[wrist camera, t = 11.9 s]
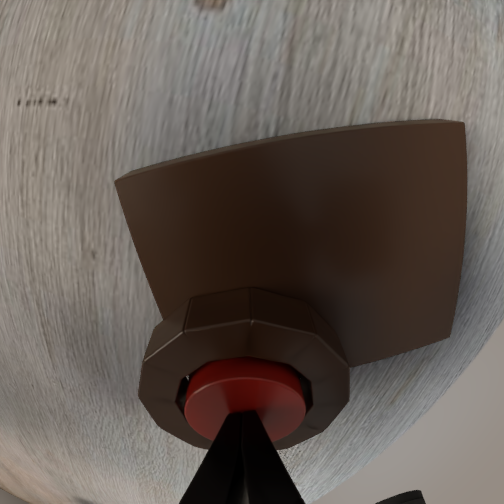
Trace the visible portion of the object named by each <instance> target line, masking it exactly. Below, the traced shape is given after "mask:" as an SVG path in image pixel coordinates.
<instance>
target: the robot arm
mask: <svg viewBox="0 0 504 504" xmlns="http://www.w3.org/2000/svg"><path fill="white" fill-rule="evenodd" d="M179 504H305V502H304V500H303V499H302V498H301V495H300V493H299V492H298V490H297V488H296V486H295V484H294V483H293V481H292V479H291V477H290V475H289V473H288V472H287V470H286V468H285V466H284V464H283V462H282V460H281V458H280V456H279V455H278V453H277V451H276V449H275V447H274V445H273V443H272V441H271V439H270V437H269V435H268V433H267V431H266V429H265V427H264V425H263V423H262V421H261V419H260V417H259V415H258V413H257V411H256V410H250V411H244V412H243V413H242V412H234V413H229V414H228V415H227V416H226V418H225V420H224V422H223V424H222V426H221V428H220V430H219V431H218V433H217V435H216V437H215V439H214V441H213V443H212V445H211V447H210V448H209V450H208V452H207V454H206V456H205V458H204V460H203V461H202V463H201V465H200V467H199V469H198V470H197V472H196V474H195V476H194V478H193V479H192V481H191V483H190V485H189V487H188V488H187V490H186V492H185V494H184V495H183V497H182V499H181V501H180V502H179Z"/></svg>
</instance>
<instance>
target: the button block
mask: <svg viewBox="0 0 504 504" xmlns="http://www.w3.org/2000/svg"><path fill="white" fill-rule="evenodd" d="M115 186H116V190H117V193H118V196H119V199H120V203H121V206H122V209H123V212H124V215H125V218H126V221H127V224H128V227H129V230H130V233H131V236H132V239H133V242H134V245H135V248H136V251H137V253H138V256H139V259H140V262H141V264H142V267H143V270H144V272H145V275H146V278H147V280H148V283H149V286H150V288H151V291H152V293H153V296H154V298H155V301H156V303H157V306H158V308H159V310H160V313H161V315H162V318H163V321H162V322H161V323H160V324H158V325H157V326H156V327H155V329H154V330H153V332H152V335H151V338H150V341H149V344H148V347H147V350H146V352H145V355H144V358H143V361H142V368H141V375H140V382H139V389H138V396H139V399H140V401H141V402H142V404H143V405H144V407H145V408H146V410H147V411H148V412H149V414H150V415H151V417H152V418H153V420H154V421H155V422H156V424H157V425H158V426H159V427H160V428H161V429H163V430H165V431H166V432H168V433H170V434H172V435H174V436H175V437H177V438H179V439H181V440H183V441H185V442H187V443H189V444H191V445H192V446H194V447H198V448H202V449H208V450H209V448H210V447H211V445H212V443H213V440H210V439H208V438H206V437H204V436H202V435H200V434H199V433H197V432H196V431H195V430H194V429H193V428H192V427H191V426H190V425H189V423H188V421H187V419H186V417H185V413H184V407H185V400H186V394H187V387H188V379H187V377H186V376H187V375H190V373H192V372H193V371H195V370H197V369H198V368H200V367H201V366H203V365H204V364H206V363H207V362H211V361H218V360H225V359H232V358H238V357H245V356H251V357H256V358H260V359H265V360H270V361H275V362H280V363H285V364H289V365H290V366H291V367H293V368H294V369H295V370H296V371H298V372H299V375H300V379H301V385H302V390H303V395H304V400H305V405H306V412H305V416H304V419H303V421H302V423H301V424H300V425H299V426H298V428H297V429H295V430H294V431H293V432H292V433H290V434H289V435H287V436H285V437H283V438H281V439H279V440H276V441H273V442H272V443H273V445H274V447H275V449H276V450H282V449H288V448H290V447H292V446H294V445H297V444H299V443H301V442H303V441H305V440H307V439H309V438H311V437H313V436H315V435H317V434H319V433H321V432H323V431H324V430H325V429H326V428H327V427H328V426H329V425H330V424H331V422H332V421H333V420H334V419H335V418H336V417H337V415H338V414H339V413H340V412H341V411H342V409H343V408H344V407H345V406H346V404H347V403H348V402H349V398H350V368H351V367H355V366H359V365H363V364H367V363H370V362H374V361H378V360H381V359H385V358H388V357H391V356H395V355H398V354H401V353H405V352H408V351H411V350H414V349H417V348H420V347H423V346H426V345H429V344H432V343H435V342H438V341H441V340H443V339H446V338H449V337H450V334H451V329H452V325H453V320H454V315H455V309H456V304H457V298H458V292H459V286H460V279H461V271H462V263H463V254H464V244H465V231H466V214H467V151H466V135H465V124H464V122H459V121H452V120H443V119H429V120H410V121H395V122H383V123H372V124H362V125H353V126H344V127H336V128H328V129H321V130H314V131H307V132H301V133H294V134H288V135H283V136H277V137H271V138H266V139H260V140H255V141H250V142H245V143H240V144H235V145H231V146H226V147H222V148H217V149H213V150H208V151H204V152H200V153H196V154H192V155H188V156H184V157H180V158H176V159H172V160H169V161H165V162H161V163H158V164H154V165H150V166H147V167H144V168H140V169H137V170H133V171H131V172H129V173H127V174H125V175H124V176H122V177H120V178H118V179H117V180H115Z"/></svg>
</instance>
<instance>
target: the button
mask: <svg viewBox="0 0 504 504" xmlns="http://www.w3.org/2000/svg"><path fill="white" fill-rule="evenodd" d="M250 410H256V411H257V413H258V415H259V417H260V419H261V421H262V423H263V425H264V427H265V429H266V431H267V433H268V435H269V437H270V439H271V441H272V442H273V441H276V440H279V439H281V438H283V437H285V436H287V435H289V434H290V433H292V432H293V431H294V430H295V429H297V428H298V426H299V425H300V424H301V423H302V421H303V419H304V416H305V412H306V405H305V400H304V395H303V390H302V385H301V380H300V375H299V372H298V371H296V370H295V369H294V368H293V367H291V366H290V365H289V364H285V363H280V362H275V361H270V360H265V359H260V358H256V357H251V356H245V357H238V358H232V359H225V360H218V361H211V362H207V363H206V364H204V365H203V366H201V367H200V368H198V369H197V370H195V371H193V372H192V373H190V375H189V381H188V387H187V394H186V400H185V407H184V413H185V417H186V419H187V421H188V423H189V425H190V426H191V427H192V428H193V429H194V430H195V431H196V432H197V433H199V434H200V435H202V436H204V437H206V438H208V439H210V440H213V441H214V439H215V437H216V435H217V433H218V431H219V430H220V428H221V426H222V424H223V422H224V420H225V418H226V416H227V415H228V414H229V413H234V412H242V413H243V412H244V411H250Z"/></svg>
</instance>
